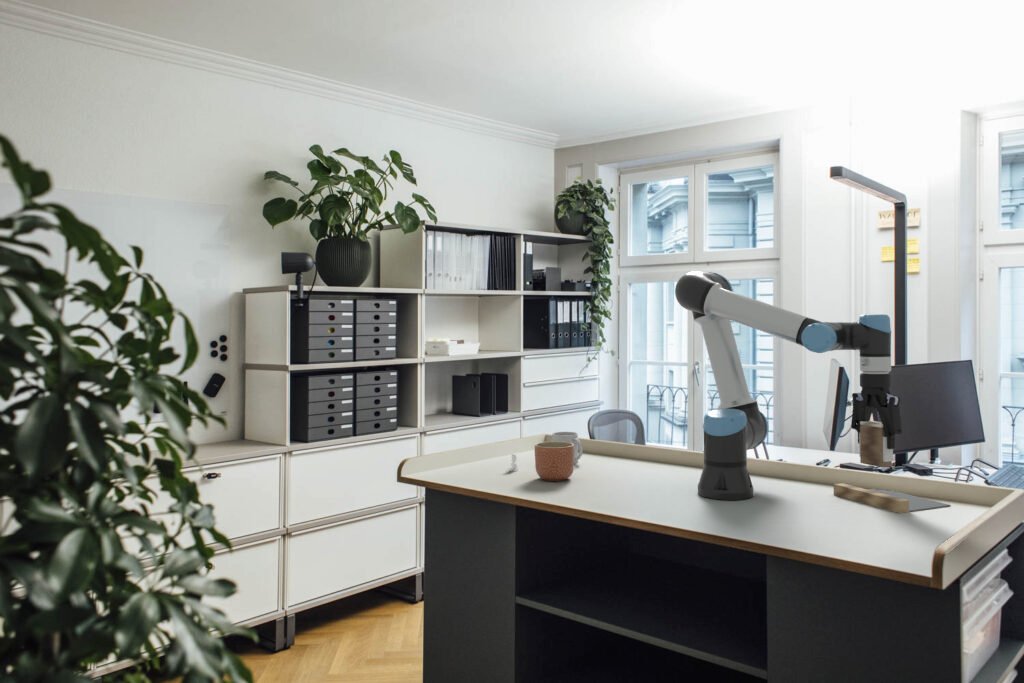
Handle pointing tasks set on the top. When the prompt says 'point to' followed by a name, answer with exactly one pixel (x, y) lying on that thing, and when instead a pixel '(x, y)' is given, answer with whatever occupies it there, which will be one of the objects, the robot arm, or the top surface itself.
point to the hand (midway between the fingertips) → (875, 458)
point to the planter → (554, 460)
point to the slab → (872, 444)
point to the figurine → (513, 464)
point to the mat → (914, 500)
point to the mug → (570, 438)
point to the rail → (872, 498)
